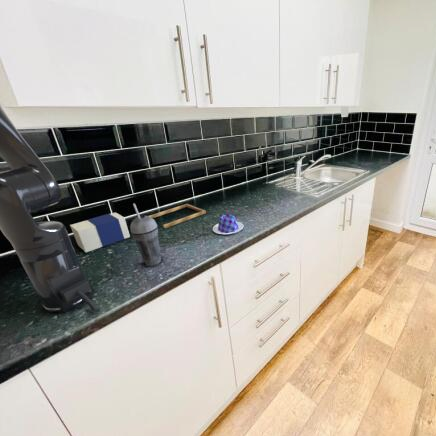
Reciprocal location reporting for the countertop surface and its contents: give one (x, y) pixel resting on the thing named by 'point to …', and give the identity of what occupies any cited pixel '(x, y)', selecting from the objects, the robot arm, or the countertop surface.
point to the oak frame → (181, 218)
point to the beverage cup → (146, 238)
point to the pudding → (228, 225)
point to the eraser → (100, 231)
